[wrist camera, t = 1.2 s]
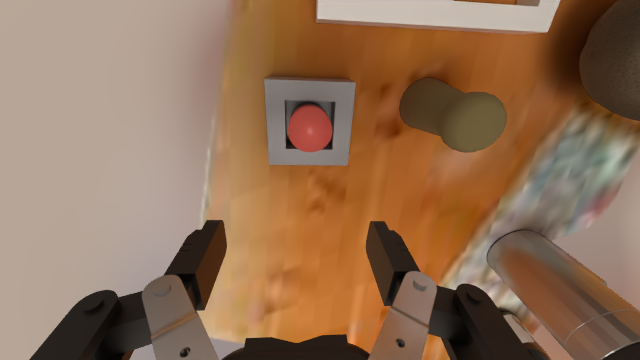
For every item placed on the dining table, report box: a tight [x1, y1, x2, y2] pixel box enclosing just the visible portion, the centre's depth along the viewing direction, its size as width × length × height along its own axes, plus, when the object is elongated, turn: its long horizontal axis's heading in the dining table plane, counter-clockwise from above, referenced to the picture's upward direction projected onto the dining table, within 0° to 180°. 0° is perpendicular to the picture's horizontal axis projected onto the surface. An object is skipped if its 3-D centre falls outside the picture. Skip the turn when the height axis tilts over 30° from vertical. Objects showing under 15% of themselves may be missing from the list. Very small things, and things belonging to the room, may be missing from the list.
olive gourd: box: [399, 78, 507, 152], centre depth 25 cm, size 6×6×11 cm
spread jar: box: [500, 311, 551, 360], centre depth 47 cm, size 12×11×12 cm
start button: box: [288, 103, 332, 152], centre depth 25 cm, size 4×4×3 cm
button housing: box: [264, 76, 356, 166], centre depth 28 cm, size 9×9×4 cm
